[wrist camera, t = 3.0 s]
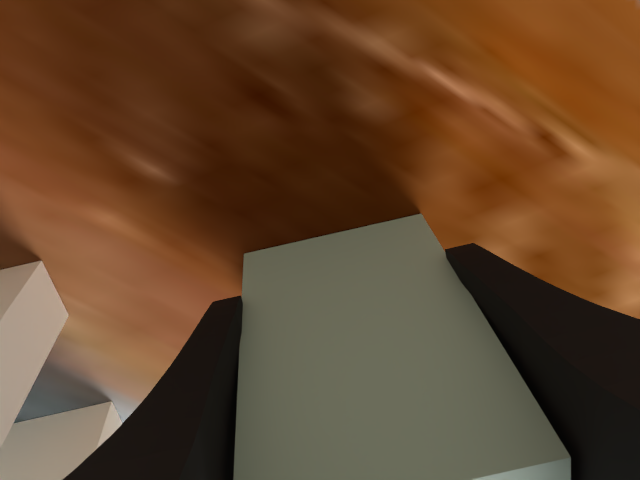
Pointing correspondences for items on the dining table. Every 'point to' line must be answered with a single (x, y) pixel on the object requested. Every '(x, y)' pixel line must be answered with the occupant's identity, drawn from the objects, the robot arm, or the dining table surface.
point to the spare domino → (378, 368)
